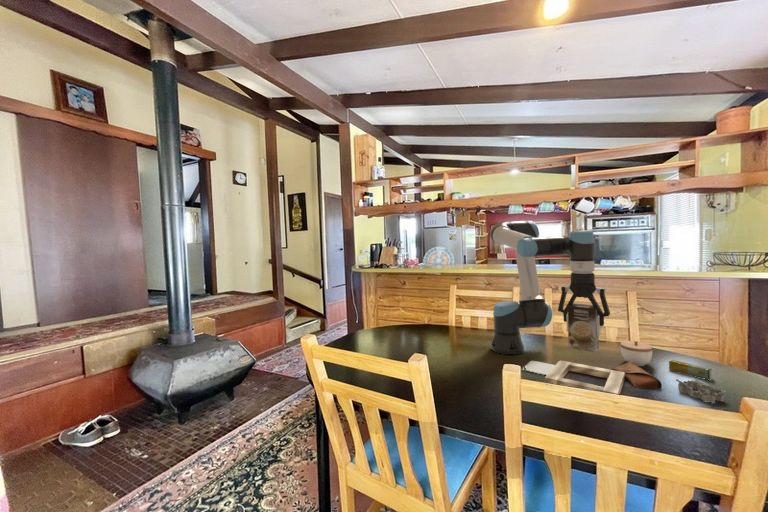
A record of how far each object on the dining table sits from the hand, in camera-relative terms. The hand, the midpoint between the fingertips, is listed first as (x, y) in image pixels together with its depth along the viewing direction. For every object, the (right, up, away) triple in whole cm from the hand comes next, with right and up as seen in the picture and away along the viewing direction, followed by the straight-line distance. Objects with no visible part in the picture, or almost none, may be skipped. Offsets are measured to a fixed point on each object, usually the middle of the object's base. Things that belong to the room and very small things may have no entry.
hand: (583, 332), depth 120 cm
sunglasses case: (+20, -18, +2) cm, 27 cm away
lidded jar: (+31, -17, +15) cm, 38 cm away
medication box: (+42, -17, +2) cm, 45 cm away
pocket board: (+1, -18, 0) cm, 18 cm away
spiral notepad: (-10, -18, +14) cm, 25 cm away
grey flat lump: (+30, -18, -14) cm, 38 cm away
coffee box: (0, -6, 0) cm, 6 cm away
